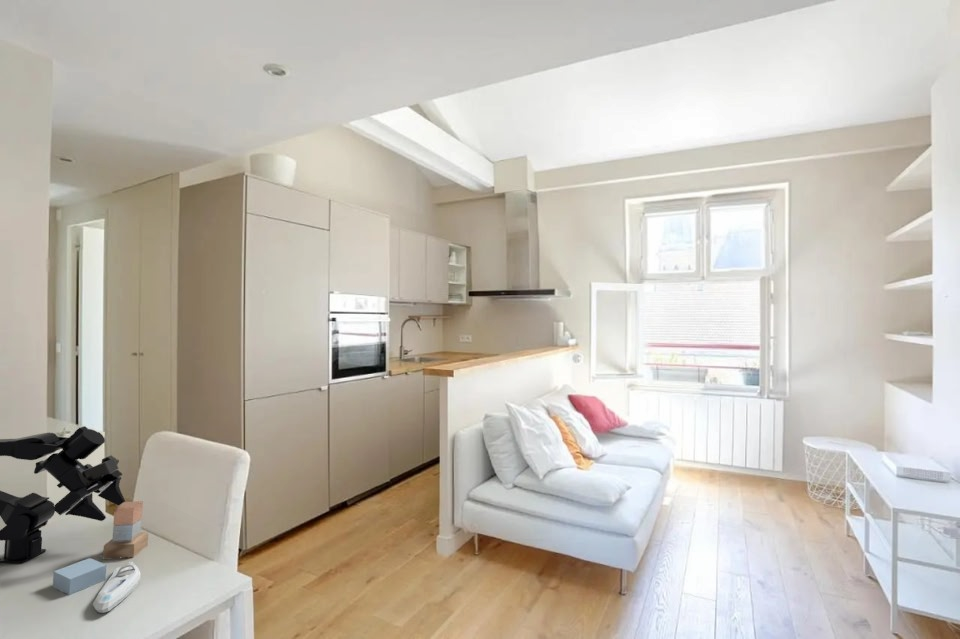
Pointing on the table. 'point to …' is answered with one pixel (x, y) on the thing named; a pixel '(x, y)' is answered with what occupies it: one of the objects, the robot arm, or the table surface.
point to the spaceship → (117, 587)
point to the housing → (127, 522)
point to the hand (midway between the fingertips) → (114, 512)
